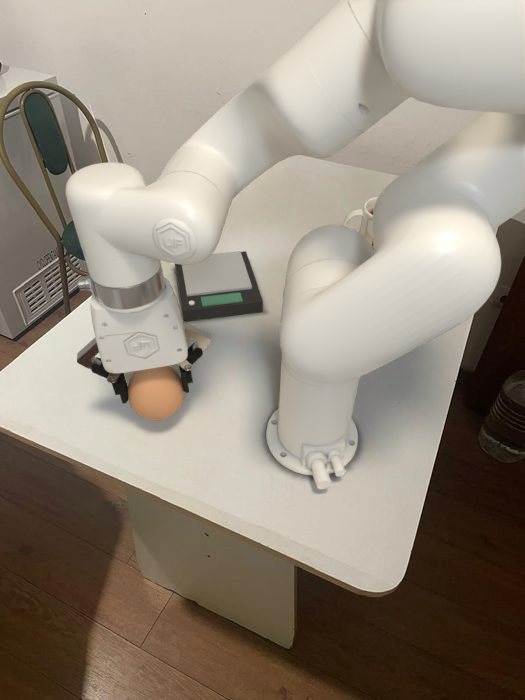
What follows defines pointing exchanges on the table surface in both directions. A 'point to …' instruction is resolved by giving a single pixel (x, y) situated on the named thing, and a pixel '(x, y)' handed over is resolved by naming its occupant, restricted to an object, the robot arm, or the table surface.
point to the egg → (155, 392)
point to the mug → (364, 219)
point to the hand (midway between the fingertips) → (155, 389)
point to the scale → (218, 287)
